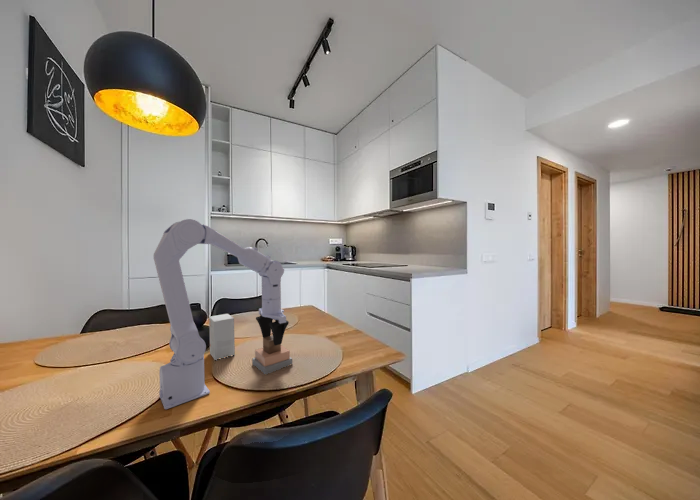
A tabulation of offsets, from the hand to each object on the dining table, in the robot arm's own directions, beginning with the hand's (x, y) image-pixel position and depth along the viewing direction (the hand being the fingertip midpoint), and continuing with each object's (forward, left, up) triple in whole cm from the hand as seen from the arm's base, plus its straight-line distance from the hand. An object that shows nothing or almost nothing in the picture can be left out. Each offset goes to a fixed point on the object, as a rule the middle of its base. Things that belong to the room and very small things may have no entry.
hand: (272, 340), depth 81 cm
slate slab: (0, 0, -8) cm, 8 cm away
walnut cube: (0, 0, -3) cm, 3 cm away
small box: (-9, +19, -8) cm, 22 cm away
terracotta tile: (0, 0, -6) cm, 6 cm away
